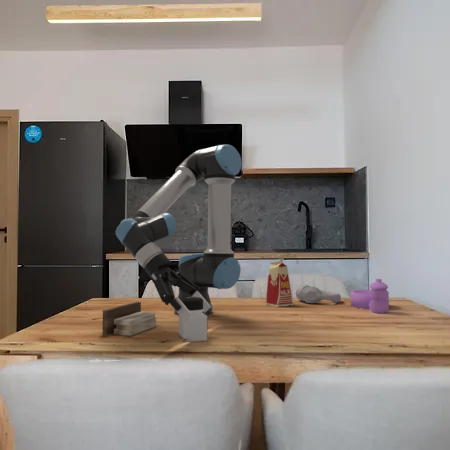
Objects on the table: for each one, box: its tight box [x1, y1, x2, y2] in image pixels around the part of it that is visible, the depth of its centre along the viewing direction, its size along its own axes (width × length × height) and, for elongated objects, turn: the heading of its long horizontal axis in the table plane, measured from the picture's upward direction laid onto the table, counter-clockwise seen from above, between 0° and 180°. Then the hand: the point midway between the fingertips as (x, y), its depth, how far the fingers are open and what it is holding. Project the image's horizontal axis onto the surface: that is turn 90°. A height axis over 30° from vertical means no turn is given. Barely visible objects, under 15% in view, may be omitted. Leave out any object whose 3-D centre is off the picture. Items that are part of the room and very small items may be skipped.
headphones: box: [295, 284, 342, 304], centre depth 190 cm, size 18×8×20 cm
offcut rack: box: [102, 301, 162, 338], centre depth 126 cm, size 10×18×8 cm, turn 159°
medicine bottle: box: [178, 297, 208, 343], centre depth 119 cm, size 7×7×12 cm
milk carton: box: [265, 259, 294, 308], centre depth 181 cm, size 9×9×20 cm
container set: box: [350, 278, 390, 314], centre depth 171 cm, size 25×15×13 cm, turn 176°
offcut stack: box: [114, 311, 157, 335], centre depth 126 cm, size 6×14×4 cm, turn 159°
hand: (198, 313), depth 118 cm, fingers open, 13 cm apart
